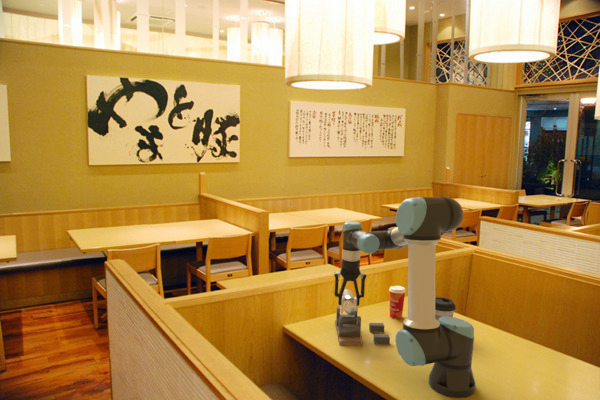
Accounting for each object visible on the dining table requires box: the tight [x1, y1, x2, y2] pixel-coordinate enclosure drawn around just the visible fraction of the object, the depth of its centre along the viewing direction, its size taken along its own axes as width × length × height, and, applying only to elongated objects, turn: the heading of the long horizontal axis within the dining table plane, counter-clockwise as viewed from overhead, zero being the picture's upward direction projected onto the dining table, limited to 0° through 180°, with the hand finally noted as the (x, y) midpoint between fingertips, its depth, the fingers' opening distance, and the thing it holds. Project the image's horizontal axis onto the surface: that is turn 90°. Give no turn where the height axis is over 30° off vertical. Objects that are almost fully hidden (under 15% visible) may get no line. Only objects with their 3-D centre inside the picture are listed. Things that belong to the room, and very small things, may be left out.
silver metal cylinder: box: [342, 288, 359, 315], centre depth 202 cm, size 18×5×5 cm, turn 1°
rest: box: [368, 322, 391, 345], centre depth 201 cm, size 15×6×3 cm, turn 1°
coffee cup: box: [435, 296, 457, 321], centre depth 205 cm, size 11×11×15 cm
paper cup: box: [388, 285, 407, 320], centre depth 224 cm, size 8×8×14 cm
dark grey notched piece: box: [334, 306, 363, 346], centre depth 203 cm, size 22×9×10 cm, turn 1°
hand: (348, 312), depth 202 cm, fingers closed on silver metal cylinder, 5 cm apart
